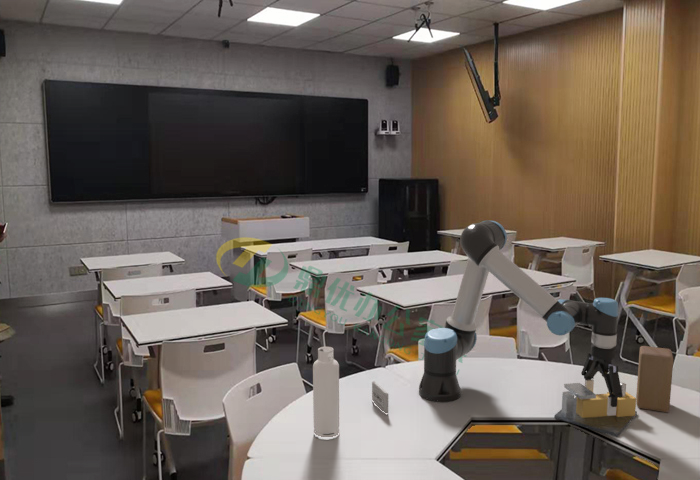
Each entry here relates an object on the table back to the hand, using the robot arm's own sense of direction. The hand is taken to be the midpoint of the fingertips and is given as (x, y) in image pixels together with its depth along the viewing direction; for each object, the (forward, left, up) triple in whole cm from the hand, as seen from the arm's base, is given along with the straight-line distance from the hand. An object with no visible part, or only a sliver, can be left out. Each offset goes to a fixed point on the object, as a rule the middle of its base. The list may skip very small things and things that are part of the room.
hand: (599, 406), depth 196 cm
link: (+1, +2, -3) cm, 3 cm away
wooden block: (+11, +21, -4) cm, 24 cm away
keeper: (-6, -7, -4) cm, 9 cm away
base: (-1, 0, -4) cm, 4 cm away
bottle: (-61, -69, -4) cm, 92 cm away
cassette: (-60, -43, -4) cm, 74 cm away
